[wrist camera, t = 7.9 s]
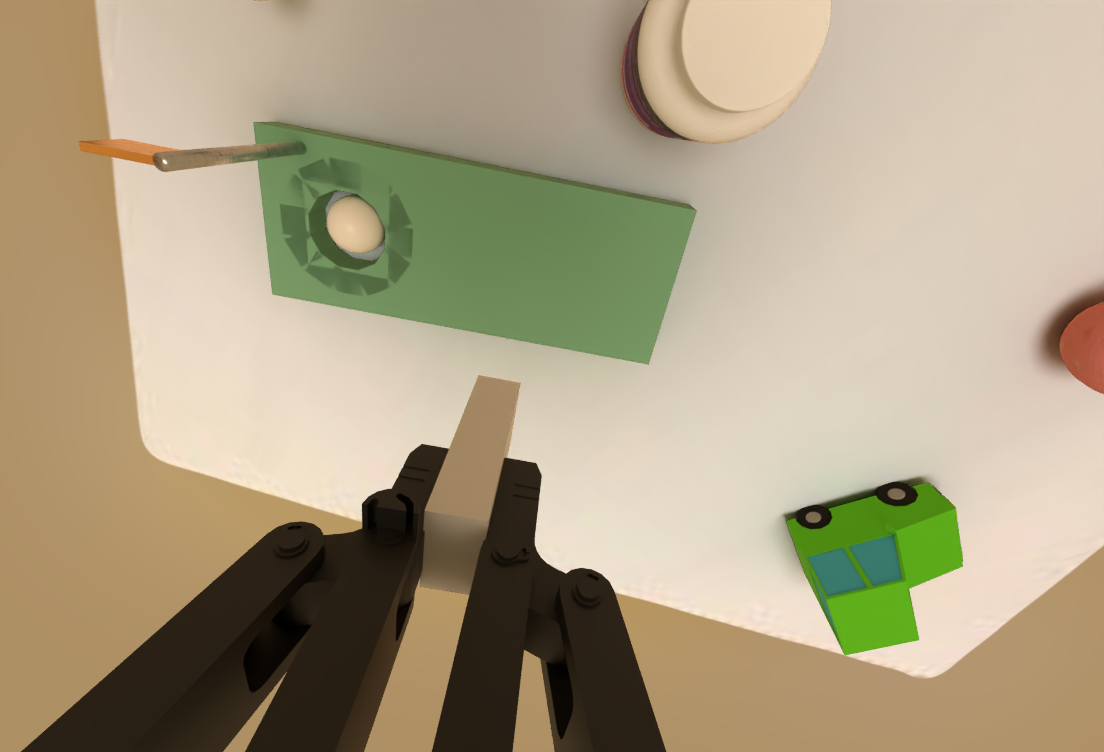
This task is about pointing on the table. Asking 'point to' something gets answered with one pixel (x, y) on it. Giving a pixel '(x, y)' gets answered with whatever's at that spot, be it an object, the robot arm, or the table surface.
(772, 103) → the pill bottle
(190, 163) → the flag pin
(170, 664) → the robot arm
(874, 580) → the toy car
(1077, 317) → the apple
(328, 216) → the ball
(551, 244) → the putting mat
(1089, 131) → the table surface
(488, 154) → the table surface
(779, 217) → the table surface
